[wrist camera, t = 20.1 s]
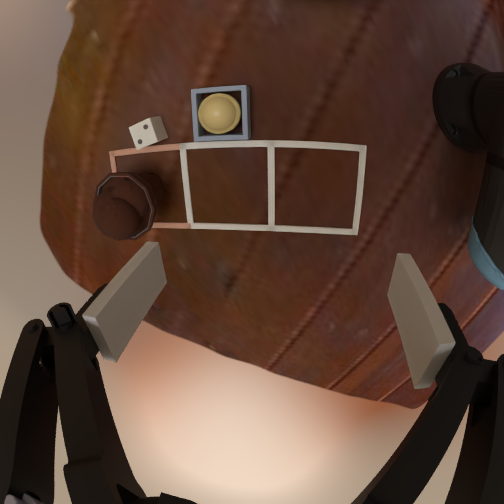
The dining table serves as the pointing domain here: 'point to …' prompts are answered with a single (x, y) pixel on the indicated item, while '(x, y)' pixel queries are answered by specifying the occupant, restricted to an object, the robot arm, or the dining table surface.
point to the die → (148, 132)
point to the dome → (220, 113)
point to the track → (271, 183)
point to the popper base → (200, 136)
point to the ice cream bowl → (126, 204)
